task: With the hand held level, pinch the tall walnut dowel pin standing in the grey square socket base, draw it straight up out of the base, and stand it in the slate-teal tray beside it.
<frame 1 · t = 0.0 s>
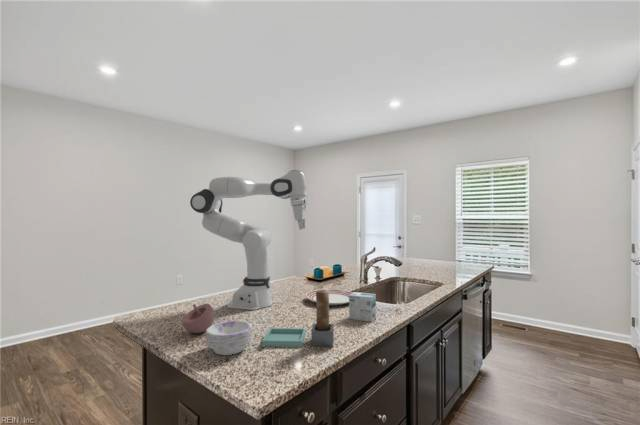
hand: (302, 228, 160), 39 cm above the worktop, tool pointing down, fingers open, 8 cm apart
light bulb box: (362, 318, 139), on the worktop
dinner plate: (331, 301, 168), on the worktop
dowel pin: (322, 342, 113), point 1 cm above the worktop, touching grey square socket base
grey square socket base: (322, 344, 113), on the worktop
tray: (285, 341, 116), on the worktop
paper bowls: (229, 350, 109), on the worktop
mortar and pestle: (198, 332, 125), on the worktop
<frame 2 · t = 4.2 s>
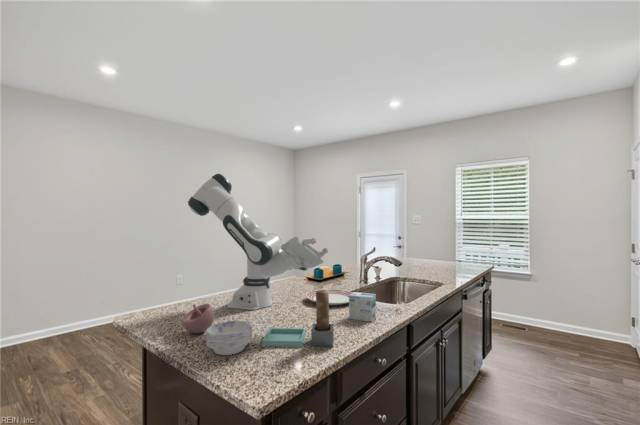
hand: (321, 245, 129), 34 cm above the worktop, tool pointing upward, fingers open, 8 cm apart
nothing on the worktop moved.
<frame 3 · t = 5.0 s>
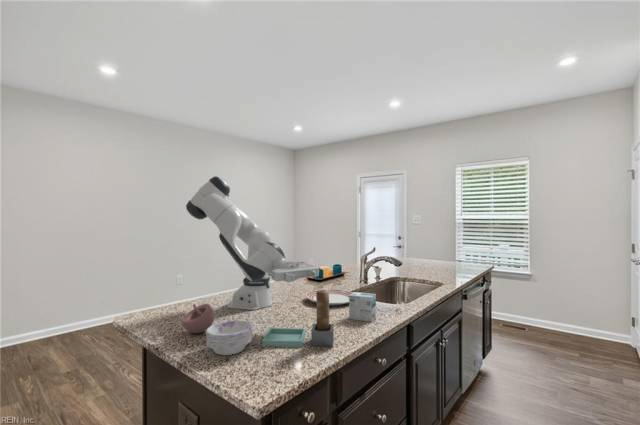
hand: (305, 276, 123), 22 cm above the worktop, tool horizontal, fingers open, 8 cm apart
nothing on the worktop moved.
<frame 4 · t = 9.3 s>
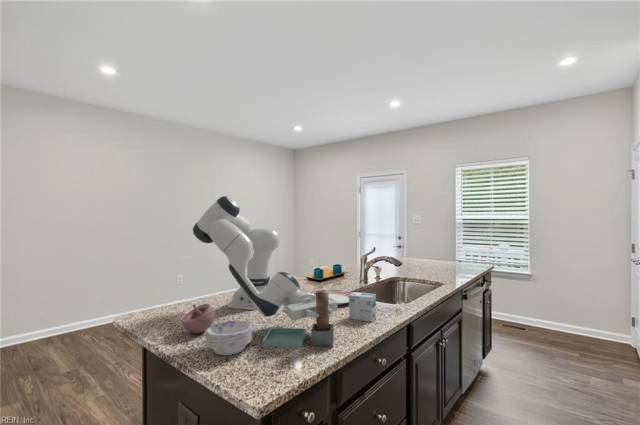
hand: (324, 313, 112), 11 cm above the worktop, tool horizontal, fingers closed on dowel pin, 4 cm apart
dowel pin: (322, 342, 113), point 1 cm above the worktop, touching gripper, grey square socket base
everything else where it was.
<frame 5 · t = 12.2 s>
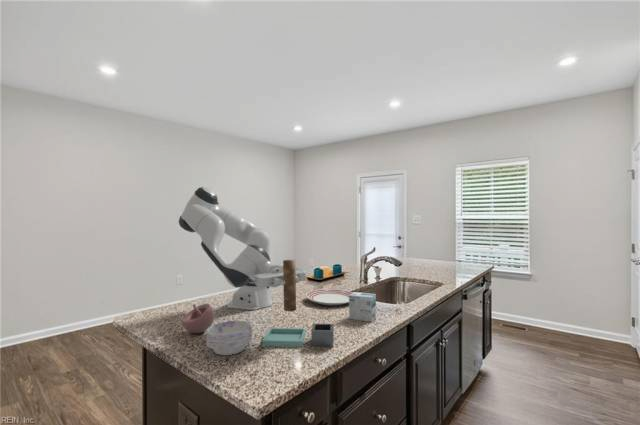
hand: (290, 281, 115), 22 cm above the worktop, tool horizontal, fingers closed on dowel pin, 4 cm apart
dowel pin: (290, 309, 116), point 11 cm above the worktop, touching gripper
everything else where it was.
when the fingers open (13 cm above the worktop, at t = 14.9 s): dowel pin drops 2 cm, resting on tray.
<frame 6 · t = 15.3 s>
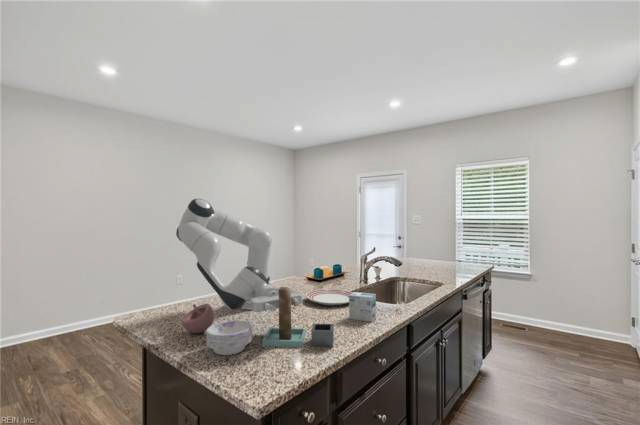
hand: (286, 306, 115), 13 cm above the worktop, tool horizontal, fingers open, 8 cm apart
dowel pin: (285, 338, 116), point 1 cm above the worktop, touching tray
everything else where it was.
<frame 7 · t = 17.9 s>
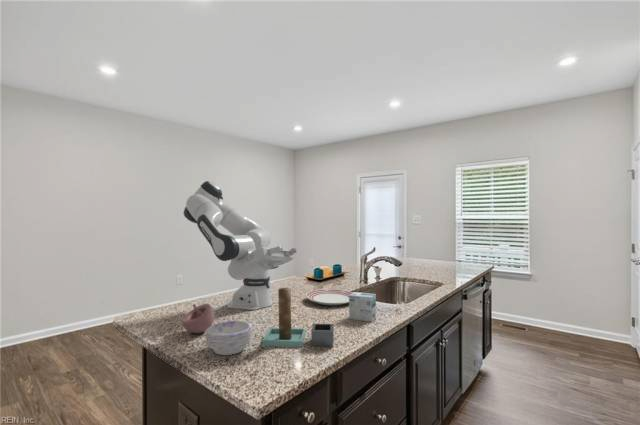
hand: (288, 249, 121), 33 cm above the worktop, tool pointing upward, fingers open, 8 cm apart
nothing on the worktop moved.
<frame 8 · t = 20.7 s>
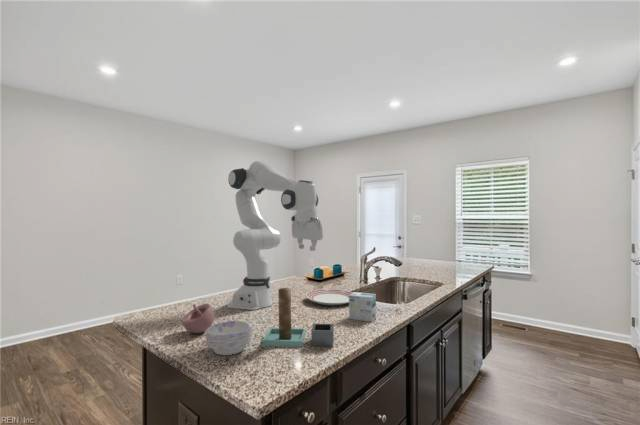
hand: (306, 249, 136), 31 cm above the worktop, tool pointing down, fingers open, 8 cm apart
nothing on the worktop moved.
at the end: dowel pin inside the target area on the tray (0.0 cm from its centre), point 1.0 cm above the tray's base; dowel pin tilted 1°; the gripper is holding nothing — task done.
